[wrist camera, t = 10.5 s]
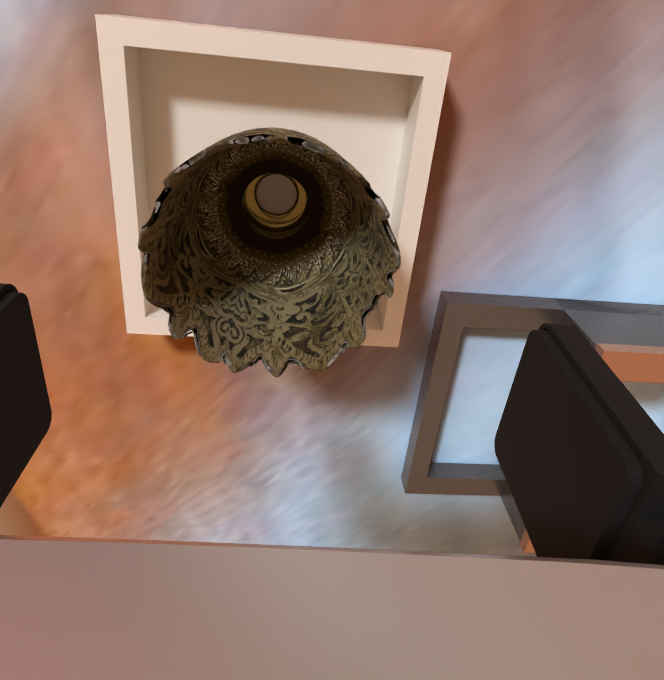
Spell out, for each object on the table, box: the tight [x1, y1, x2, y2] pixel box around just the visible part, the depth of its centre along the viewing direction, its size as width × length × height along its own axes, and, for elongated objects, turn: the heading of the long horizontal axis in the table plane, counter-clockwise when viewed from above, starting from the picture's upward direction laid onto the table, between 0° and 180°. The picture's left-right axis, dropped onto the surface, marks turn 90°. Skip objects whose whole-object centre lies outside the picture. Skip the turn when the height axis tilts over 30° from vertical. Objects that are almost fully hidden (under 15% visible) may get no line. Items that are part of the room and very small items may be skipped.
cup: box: [138, 127, 401, 377], centre depth 19 cm, size 8×7×8 cm
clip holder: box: [401, 291, 664, 553], centre depth 28 cm, size 16×12×5 cm
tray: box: [95, 14, 451, 347], centre depth 22 cm, size 12×12×2 cm
